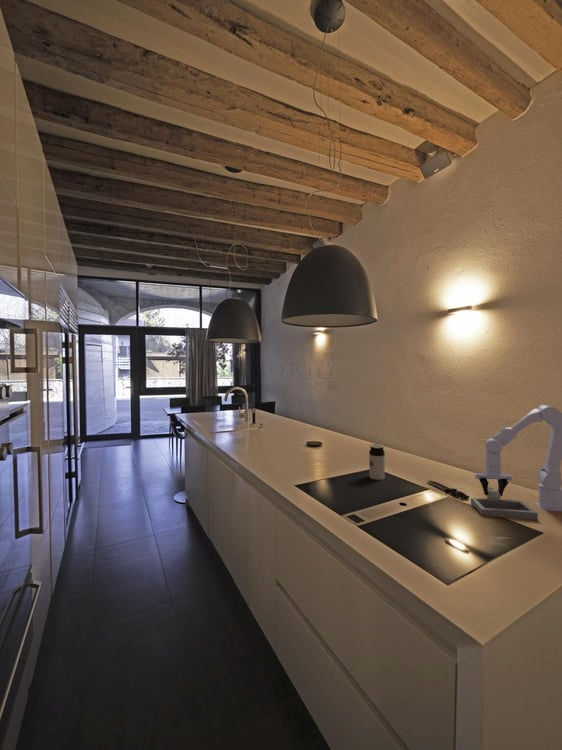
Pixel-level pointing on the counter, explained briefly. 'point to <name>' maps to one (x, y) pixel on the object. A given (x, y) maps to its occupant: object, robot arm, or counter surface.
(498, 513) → the tray
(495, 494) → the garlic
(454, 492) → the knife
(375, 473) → the travel mug
